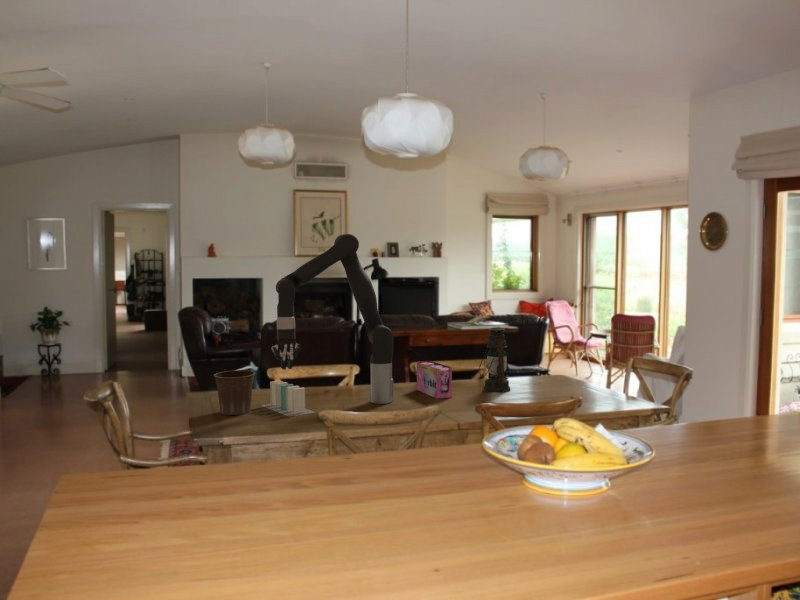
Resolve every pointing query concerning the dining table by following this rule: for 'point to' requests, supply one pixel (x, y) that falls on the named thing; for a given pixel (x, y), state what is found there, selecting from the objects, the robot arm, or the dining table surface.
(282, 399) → the teal tile
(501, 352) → the lantern
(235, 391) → the plant pot
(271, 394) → the domino
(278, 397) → the domino
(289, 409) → the domino
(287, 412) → the pale grey flat board
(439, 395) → the gum box
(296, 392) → the domino
